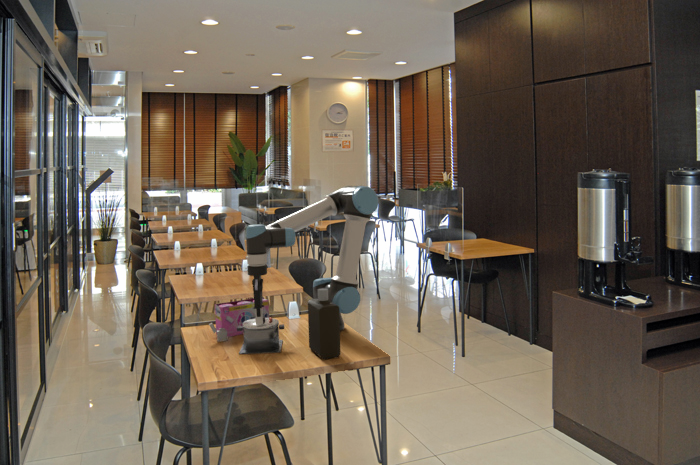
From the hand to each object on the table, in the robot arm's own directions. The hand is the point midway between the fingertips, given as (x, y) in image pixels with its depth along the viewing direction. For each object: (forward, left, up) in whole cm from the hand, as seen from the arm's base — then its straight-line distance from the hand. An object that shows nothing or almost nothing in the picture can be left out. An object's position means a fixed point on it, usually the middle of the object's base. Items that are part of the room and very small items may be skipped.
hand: (259, 324), depth 217 cm
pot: (0, -5, -11) cm, 12 cm away
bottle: (-25, +5, -11) cm, 28 cm away
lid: (0, -6, -2) cm, 6 cm away
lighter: (+19, -16, -11) cm, 27 cm away
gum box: (+10, -29, -11) cm, 33 cm away
